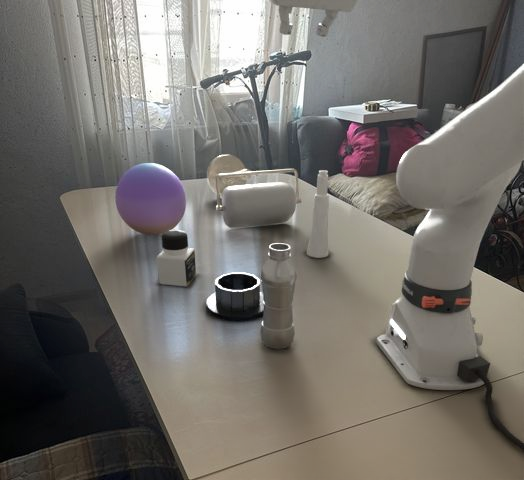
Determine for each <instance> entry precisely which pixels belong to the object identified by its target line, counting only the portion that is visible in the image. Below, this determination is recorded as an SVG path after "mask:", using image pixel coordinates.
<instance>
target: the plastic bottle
mask: <svg viewBox="0 0 524 480" xmlns="http://www.w3.org/2000/svg"><path fill="white" fill-rule="evenodd" d="M267 255H268V258H269V259H268V260H267V261H266V262H265V264H264V265H263V267H262V268H261V271H260V283H261V288H262V293H263V300H264V311H263V316H262V321H261V323H260V330H259V331H260V332H259V334H260V338H261V341H262V343H263V344H264V346H266V347H268V348H271V349H274V350H275V349H276V350H277V349H278V350H281V349H285V348H288V347H289V346H291V344H292V343H293V342H294V340H295V334H296V333H295V325H294V317H293V304H294V303H293V302H294V293H295V290H296V289H295V288H296V283H297V276H298V275H297V270H296V268H295V267H294V265H293V263H292V262H291V261H290V258H291V246H290V245H289V244H287V243H282V242H276V243H275V242H274V243H271V244H270V245H269V248H268V254H267Z"/></svg>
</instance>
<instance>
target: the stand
mask: <svg viewBox="0 0 524 480" xmlns="http://www.w3.org/2000/svg"><path fill="white" fill-rule="evenodd" d="M214 291H215V292H213V293H211V294H210V295H209V296H208V297H207V299H206V301H205V302H206V303H205V304H206V305H205V306H206V307H205V308H206V311H207V312H208V313H209V315H211V317H214V318H216V319H219V320H222V321H226V322H238V323H239V322H248V321H249V322H250V321H253V320H256V319H259V318H261V317H263V311H264V300H263V292H261V278H259V277H257V276H256V275H255V274H251V273H247V272H229V273H224V274H222V275H220V276H219V277H217V278H215V281H214Z"/></svg>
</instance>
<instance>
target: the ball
mask: <svg viewBox="0 0 524 480" xmlns="http://www.w3.org/2000/svg"><path fill="white" fill-rule="evenodd" d="M114 199H115V206H116V210H117V212H118V214H119V216H120V218H121V220H123V222H124V223H125V224H126V225H127V226H128V227H129V228H130V229H132V230H133V231H135V232H136V233H139V234H141V235H145V236H153V237H154V236H161V235H162V234H163V233H164V232H166V231H169V230H174V229H175V228H176V227H177V226H178V225H179V223H180V222H181V221H182V220H183V217H184V215H185V213H186V208H187V197H186V192H185V188H184V185H183V184H182V181H181V180H180V178H179V177H178V176H177V174H175V173H174V172H173V171H172V170H170V169H169V168H167V167H165V166H164V165H162V164H159V163H154V162H153V163H152V162H144V163H139V164H137V165H134V166H132V167H130V168H129V169H128V170H126V171H125V172H124V173H123V174H122V176H121V177H120V178H119V180H118V183H117V186H116V190H115V197H114Z"/></svg>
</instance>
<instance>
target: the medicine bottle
mask: <svg viewBox="0 0 524 480" xmlns="http://www.w3.org/2000/svg"><path fill="white" fill-rule="evenodd" d="M160 238H161V239H160V240H161V248H162V251H161V252H160V253H159V254H158V255H157V256H156V267H157V275H158V283H159V285H164V286H165V285H166V286H175V287H186V288H187V287H188V286H189V285H190V284H191V282H192V281H193V280H194V278H195V277H196V276H197V267H196V252H195V248H193V247H192V248H191V247H189V237H188V233H187V232H186V231H184V230H181V229H172V230H169V231H166V232H164V233H163V234H161V235H160Z"/></svg>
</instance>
